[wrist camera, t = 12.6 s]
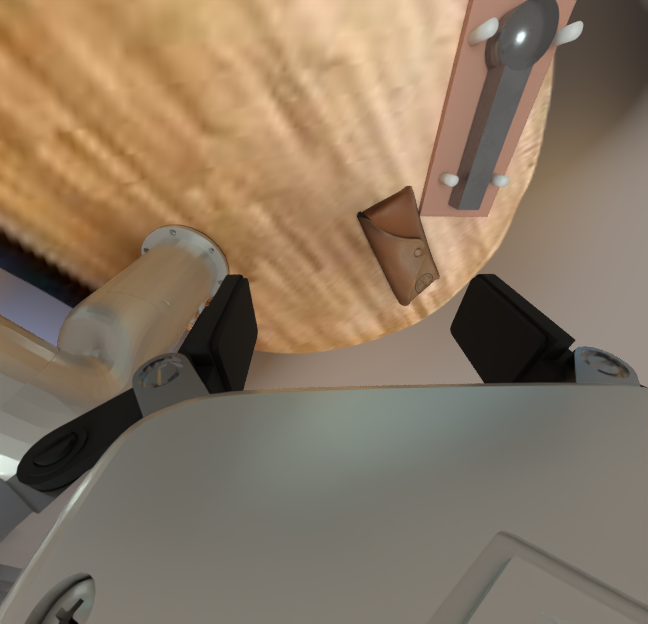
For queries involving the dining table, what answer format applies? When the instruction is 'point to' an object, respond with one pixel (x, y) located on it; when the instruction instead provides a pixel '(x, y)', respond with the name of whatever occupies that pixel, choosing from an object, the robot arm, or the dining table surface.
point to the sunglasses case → (400, 244)
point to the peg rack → (463, 98)
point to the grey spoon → (502, 93)
